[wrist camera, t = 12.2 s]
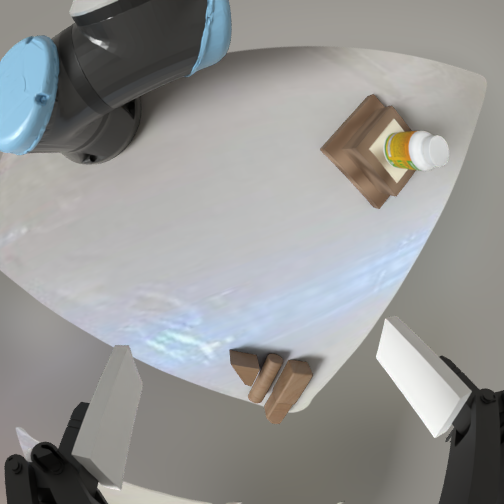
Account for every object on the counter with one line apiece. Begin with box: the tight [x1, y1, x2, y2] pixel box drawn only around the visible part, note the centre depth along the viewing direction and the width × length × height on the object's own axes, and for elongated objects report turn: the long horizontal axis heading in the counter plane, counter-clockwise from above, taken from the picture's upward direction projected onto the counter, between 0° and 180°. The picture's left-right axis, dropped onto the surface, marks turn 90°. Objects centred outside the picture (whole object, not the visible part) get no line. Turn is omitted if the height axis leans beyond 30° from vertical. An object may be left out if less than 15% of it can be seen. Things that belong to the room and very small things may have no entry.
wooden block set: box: [229, 350, 313, 424], centre depth 52 cm, size 17×6×18 cm
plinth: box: [320, 94, 416, 209], centre depth 38 cm, size 14×14×7 cm
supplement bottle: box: [383, 131, 449, 171], centre depth 30 cm, size 5×5×10 cm
